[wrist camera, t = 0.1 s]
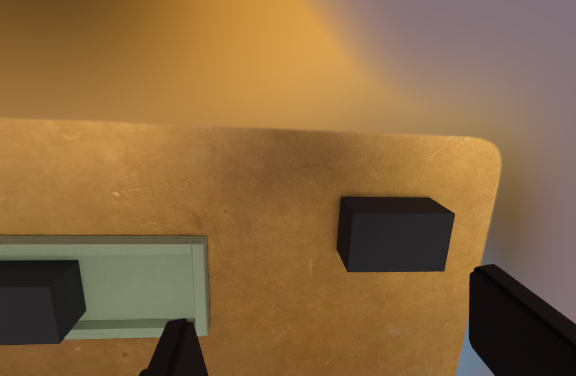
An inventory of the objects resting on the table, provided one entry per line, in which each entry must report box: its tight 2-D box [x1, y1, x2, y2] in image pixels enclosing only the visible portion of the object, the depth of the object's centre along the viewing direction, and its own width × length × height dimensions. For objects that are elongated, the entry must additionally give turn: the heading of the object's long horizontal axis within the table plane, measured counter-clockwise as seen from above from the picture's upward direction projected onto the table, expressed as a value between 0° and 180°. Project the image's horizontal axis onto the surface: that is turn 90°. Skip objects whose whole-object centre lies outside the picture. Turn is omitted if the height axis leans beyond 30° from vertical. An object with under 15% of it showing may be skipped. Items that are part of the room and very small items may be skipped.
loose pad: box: [337, 197, 455, 272], centre depth 27 cm, size 8×5×4 cm, turn 88°
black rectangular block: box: [0, 260, 86, 345], centre depth 26 cm, size 8×5×4 cm, turn 88°
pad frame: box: [0, 236, 210, 339], centre depth 28 cm, size 20×9×2 cm, turn 88°
